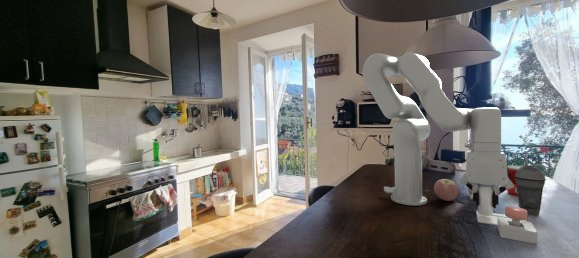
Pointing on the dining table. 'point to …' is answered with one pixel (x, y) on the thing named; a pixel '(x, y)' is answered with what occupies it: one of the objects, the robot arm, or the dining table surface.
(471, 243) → the dining table surface
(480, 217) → the paper
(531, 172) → the beverage cup
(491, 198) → the marker
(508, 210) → the button
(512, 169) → the canned food
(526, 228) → the button box
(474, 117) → the robot arm
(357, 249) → the dining table surface
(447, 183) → the apple
